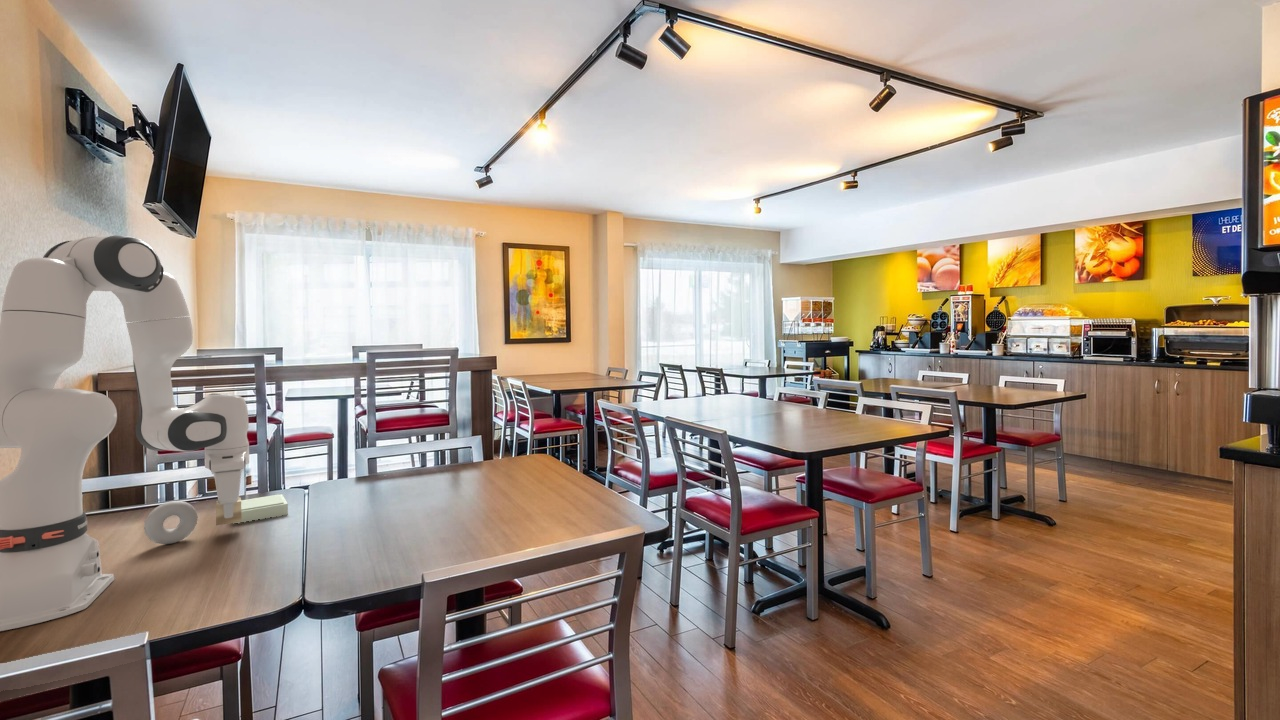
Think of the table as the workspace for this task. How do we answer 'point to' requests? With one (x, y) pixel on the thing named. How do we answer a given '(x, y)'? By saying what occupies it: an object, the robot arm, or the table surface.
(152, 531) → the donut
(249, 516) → the pedestal
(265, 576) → the table surface
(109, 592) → the table surface
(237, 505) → the maple cube
